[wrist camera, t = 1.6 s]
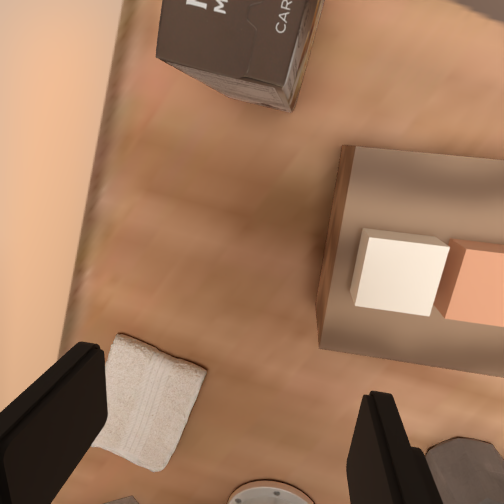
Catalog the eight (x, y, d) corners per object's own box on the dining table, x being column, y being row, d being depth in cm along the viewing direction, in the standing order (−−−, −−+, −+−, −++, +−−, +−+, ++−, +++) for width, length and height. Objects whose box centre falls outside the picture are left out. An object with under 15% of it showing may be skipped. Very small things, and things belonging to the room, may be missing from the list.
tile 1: (502, 311, 25) (523, 329, 22) (431, 302, 25) (444, 318, 23) (526, 247, 23) (552, 259, 21) (450, 238, 24) (466, 249, 21)
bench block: (476, 327, 34) (527, 381, 26) (315, 304, 35) (319, 348, 28) (533, 163, 28) (617, 170, 21) (342, 145, 30) (355, 146, 23)
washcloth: (90, 429, 46) (76, 448, 43) (119, 325, 40) (105, 340, 37) (169, 463, 46) (160, 484, 43) (211, 364, 40) (204, 381, 37)
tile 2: (417, 300, 25) (429, 316, 23) (349, 290, 26) (354, 305, 23) (435, 236, 24) (449, 247, 21) (362, 228, 24) (369, 237, 22)
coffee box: (249, -22, 27) (185, -226, 12) (326, -4, 27) (359, -191, 12) (225, 99, 30) (150, 57, 15) (294, 116, 30) (288, 91, 15)
